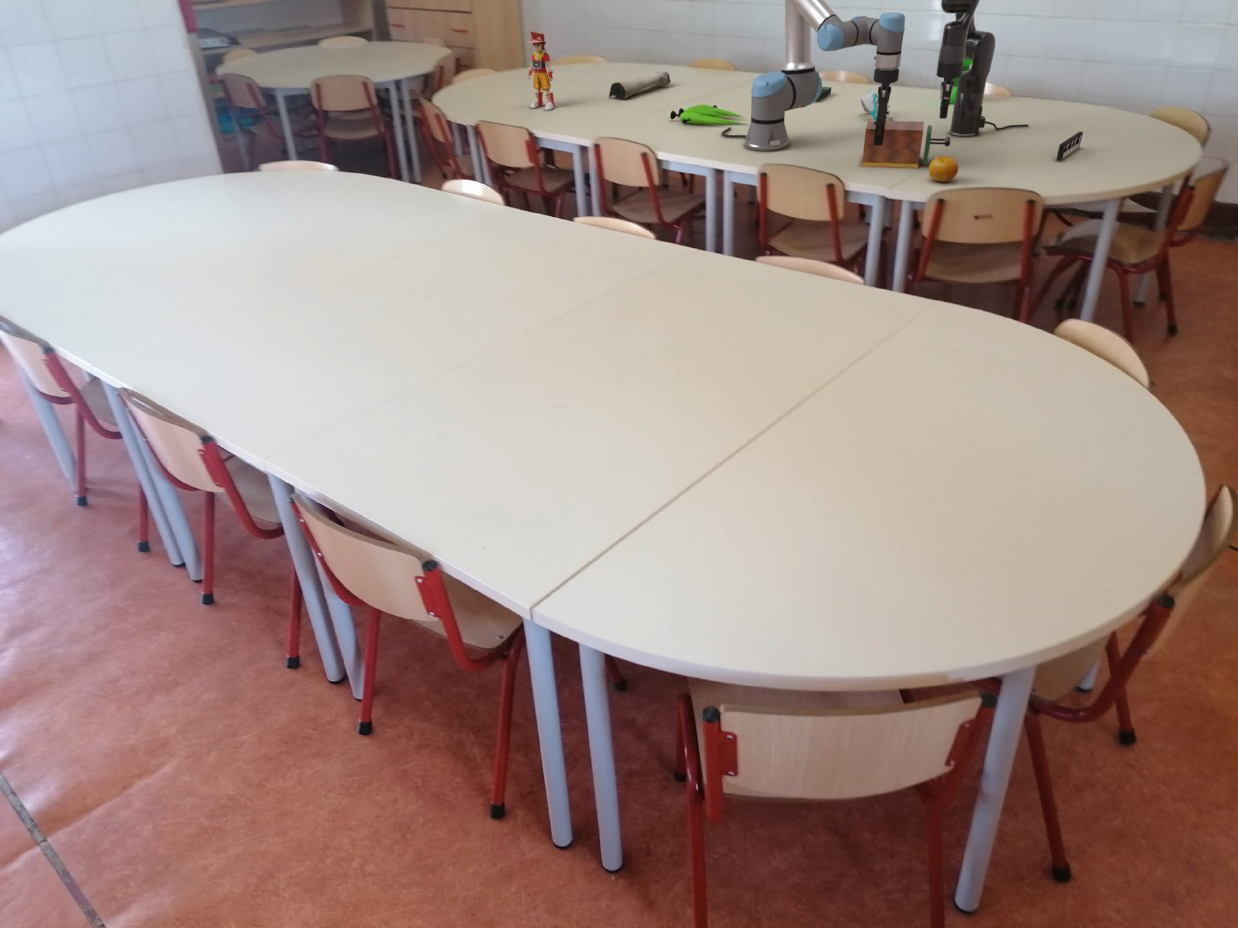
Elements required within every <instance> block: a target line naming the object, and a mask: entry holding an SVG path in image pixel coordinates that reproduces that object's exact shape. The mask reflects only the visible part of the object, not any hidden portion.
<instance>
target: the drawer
mask: <svg viewBox="0 0 1238 928" xmlns="http://www.w3.org/2000/svg"><path fill="white" fill-rule="evenodd" d="M932 130H933V126H932V125H927V131H926V137H925V145H924V151H923V160H922V164H923V165H928V160H929V154H930V146H931V145H943V146H944V147H950V146H951V138H950V136H945V137H944V138H933V137H932V133H933V132H932ZM923 135H924V134H923ZM923 135H922V137H923ZM921 144H922V142H921ZM921 149H922V148H921ZM921 149H920V151H921ZM920 156H921V155H920ZM920 156H919V158H920Z"/></svg>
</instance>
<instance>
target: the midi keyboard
mask: <svg viewBox="0 0 1238 928" xmlns="http://www.w3.org/2000/svg"><path fill="white" fill-rule="evenodd" d="M1083 134H1084V131H1078V132H1076V133H1075V134H1073V135H1072V136H1070V137H1069V138H1067V139H1066V140H1063V142H1061V143H1060V144H1059V146H1058V151H1057V156H1056V161H1061V160H1063V159H1064V158H1066V157H1067V156H1068V155H1069V154H1071V153H1073V152H1074V151H1076V150H1077V149H1078V148H1080V147H1081V142H1082V139H1083V138H1082V137H1083Z"/></svg>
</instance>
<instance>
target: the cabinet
mask: <svg viewBox="0 0 1238 928" xmlns="http://www.w3.org/2000/svg"><path fill="white" fill-rule="evenodd" d="M874 122H876V120H867V122H866V127H865V132H864V141H863V151H862V160H861V166H862V167H885V168H886V167H888V168H890V167H891V168H916V169H918V168H919V162H920V157H919V156H921V150H920V149H922V143H921V142H922V141H923V136H922V135H924V126H925V125H924V123H925V122H924V121H911V120H910V121H909V120H908V121H905V120H886V121H885V126H884V135H883V144H882V145H874V137H875V128H876V125H874Z"/></svg>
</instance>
